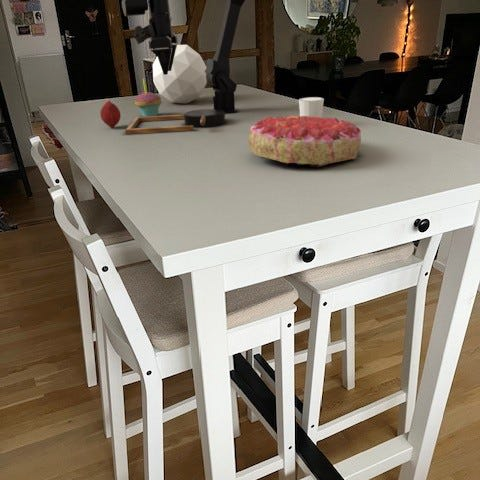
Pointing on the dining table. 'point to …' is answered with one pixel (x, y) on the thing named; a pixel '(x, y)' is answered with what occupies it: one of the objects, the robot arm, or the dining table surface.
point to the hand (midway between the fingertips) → (167, 72)
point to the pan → (204, 118)
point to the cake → (305, 140)
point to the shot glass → (311, 106)
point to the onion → (110, 114)
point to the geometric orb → (181, 76)
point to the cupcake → (148, 102)
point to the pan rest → (131, 127)
